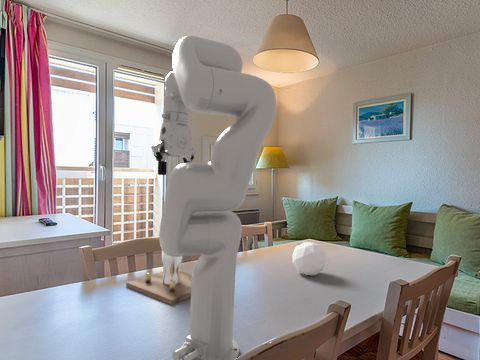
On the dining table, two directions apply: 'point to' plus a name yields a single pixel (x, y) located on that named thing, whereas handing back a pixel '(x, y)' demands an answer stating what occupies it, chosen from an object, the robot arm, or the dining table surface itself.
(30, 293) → the dining table surface
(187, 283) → the walnut board
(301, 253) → the geodesic sphere
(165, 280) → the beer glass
